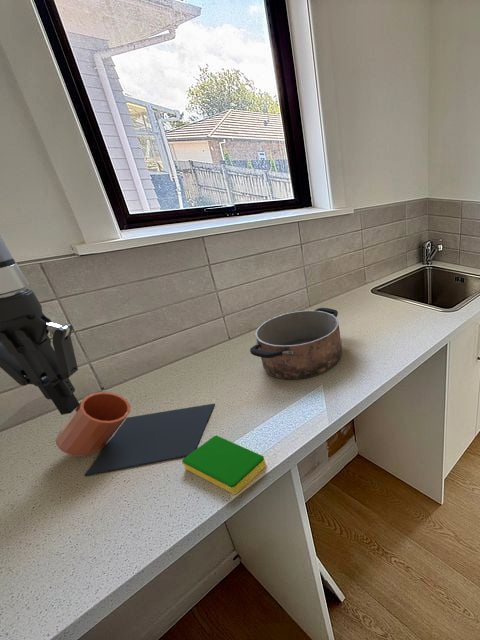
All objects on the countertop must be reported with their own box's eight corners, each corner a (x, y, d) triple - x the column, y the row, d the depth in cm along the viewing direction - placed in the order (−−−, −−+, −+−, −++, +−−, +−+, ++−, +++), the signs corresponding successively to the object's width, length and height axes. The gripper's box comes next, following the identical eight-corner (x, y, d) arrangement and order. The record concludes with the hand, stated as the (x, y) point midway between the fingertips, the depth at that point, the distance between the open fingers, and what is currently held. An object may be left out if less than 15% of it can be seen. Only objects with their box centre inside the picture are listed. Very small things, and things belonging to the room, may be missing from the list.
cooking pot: (300, 397, 84) (292, 360, 79) (234, 377, 91) (223, 343, 86) (362, 342, 109) (360, 312, 104) (307, 330, 116) (302, 301, 111)
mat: (85, 476, 63) (84, 474, 63) (127, 418, 77) (126, 417, 76) (193, 455, 67) (193, 453, 67) (215, 404, 81) (214, 403, 81)
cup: (45, 448, 62) (70, 413, 61) (71, 419, 69) (94, 386, 67) (93, 460, 66) (118, 428, 64) (114, 432, 73) (137, 401, 71)
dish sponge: (235, 495, 59) (231, 486, 58) (184, 469, 64) (180, 460, 63) (267, 465, 65) (264, 456, 64) (218, 443, 70) (215, 434, 69)
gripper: (-80, 309, 49) (12, 431, 59) (28, 296, 52) (99, 414, 62) (-33, 292, 56) (43, 404, 66) (61, 281, 59) (120, 390, 69)
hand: (70, 409), depth 64 cm, fingers closed
